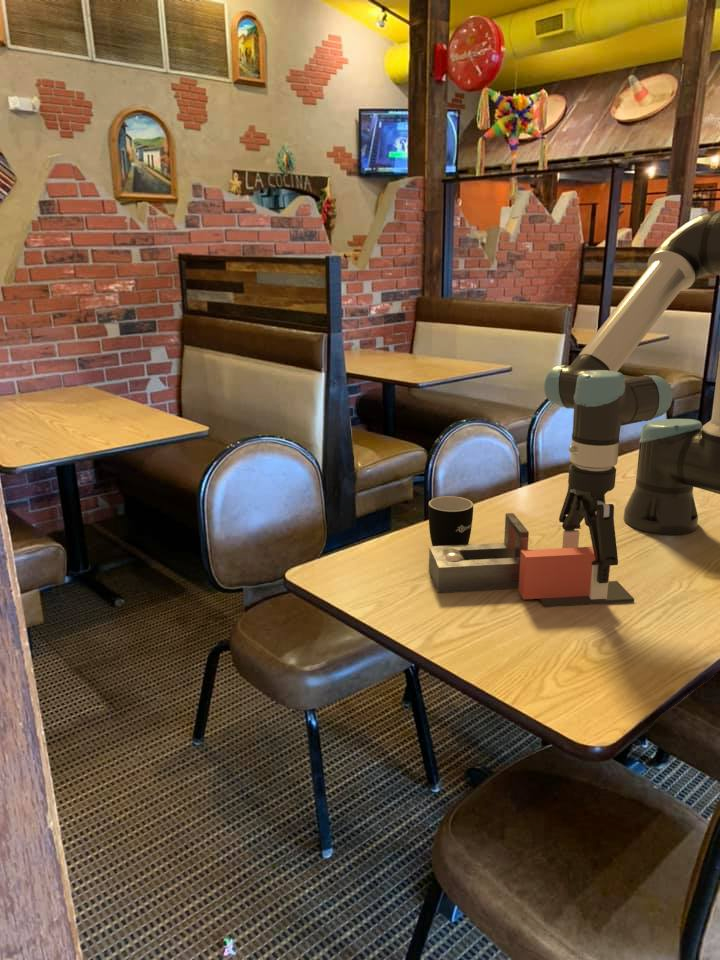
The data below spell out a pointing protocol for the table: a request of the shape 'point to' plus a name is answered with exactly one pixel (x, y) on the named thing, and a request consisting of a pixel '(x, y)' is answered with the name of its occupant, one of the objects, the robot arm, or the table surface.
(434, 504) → the mug
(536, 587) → the orange block
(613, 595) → the pad
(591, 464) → the robot arm
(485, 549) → the frame
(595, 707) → the table surface
